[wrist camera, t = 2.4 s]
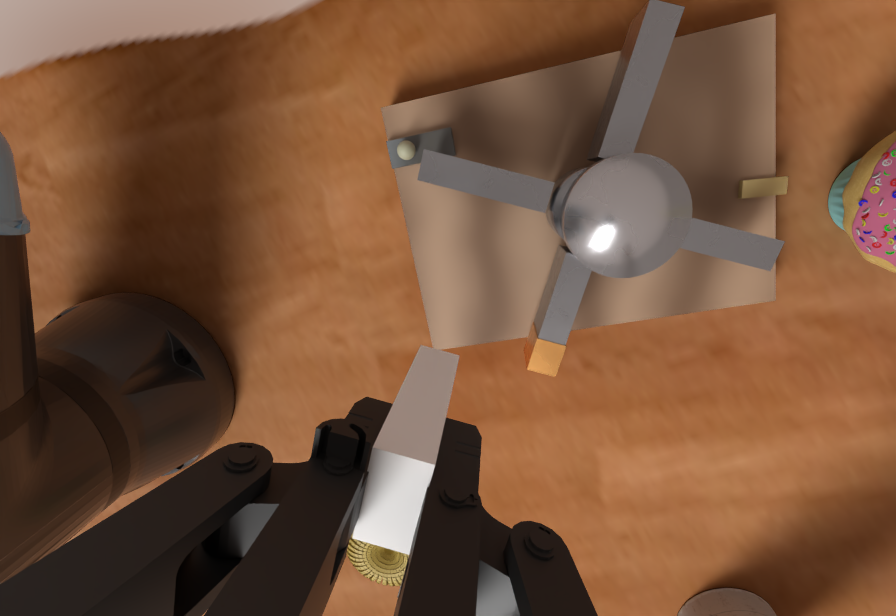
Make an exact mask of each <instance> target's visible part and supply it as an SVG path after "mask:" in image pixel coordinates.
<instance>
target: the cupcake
mask: <svg viewBox="0 0 896 616" xmlns="http://www.w3.org/2000/svg"><path fill="white" fill-rule="evenodd" d="M828 208H829V213H830V215H831V218H832V219H833V221H834V222H835V223H836V224H837V225H838V226H839V227H840V228H841V229H843V230H845V231H846V233H847V234H848V235H849V237H850V238H851V240H852V241H853V243H854V245H855V247H856V248H857V250H858V251H859V253H860V254H861V256H862V257H863V258H864V259H866V260H867V261H869V262H871V263H873V264H876V265H878V266H880V267H882V268H884V269H887V270H889V271H891V272H895V273H896V131H894V132H893V133H891V134H890V135H888V136H887V137H885V138H884V139H882V140H881V141H880V142H878V143H877V144H876V145H875V146H874V147H872V148H871V149H870V150H869V151H868V152H867V153H866V154H865V155H864V156H863V157H862V158H860V159H858V160H857V161H855V162H853V163H852V164H850V165H849V166H848V167H847V168H845V169H844V170H843V171H842V172H841V173H840V175H839V176H838V177H837V179H836V180H835V182H834V183H833V185H832V187H831V190H830V193H829V198H828Z"/></svg>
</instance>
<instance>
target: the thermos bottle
mask: <svg viewBox="0 0 896 616" xmlns="http://www.w3.org/2000/svg"><path fill="white" fill-rule="evenodd" d="M677 616H777V615H776V614H775V612H774V611H773V609H772V608H771V607H770V605H769V604H768V603H767V602H766V601H765V600H763V599H762V598H761V597H759V596H757V595H756V594H754V593H752V592H748V591H745V590H742V589H735V588H719V589H712V590H709V591H705V592H703V593H700V594H698V595H696V596H694V597H693V598H691V599H690V600H689V601H687V602H686V603H685V604H684V605H683V606H682V608H681V609H680V611H679V613H678V615H677Z"/></svg>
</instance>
